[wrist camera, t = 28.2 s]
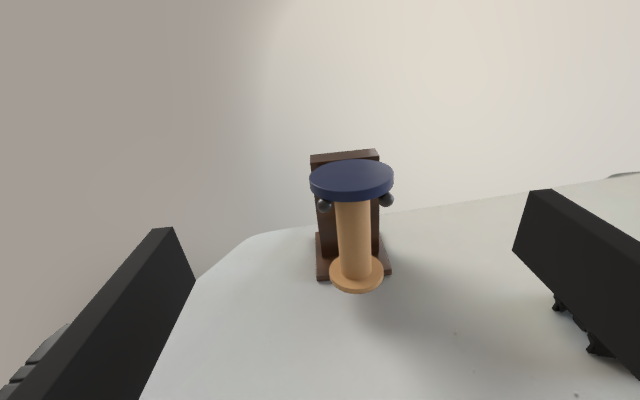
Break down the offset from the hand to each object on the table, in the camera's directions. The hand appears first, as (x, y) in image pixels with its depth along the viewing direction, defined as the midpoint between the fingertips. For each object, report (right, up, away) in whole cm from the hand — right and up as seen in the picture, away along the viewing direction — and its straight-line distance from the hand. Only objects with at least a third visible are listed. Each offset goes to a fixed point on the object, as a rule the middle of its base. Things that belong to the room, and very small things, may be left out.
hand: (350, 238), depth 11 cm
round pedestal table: (+4, -8, +26) cm, 27 cm away
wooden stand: (+4, -9, +32) cm, 34 cm away
